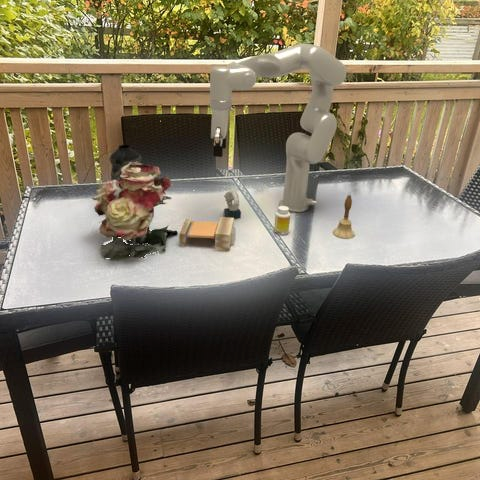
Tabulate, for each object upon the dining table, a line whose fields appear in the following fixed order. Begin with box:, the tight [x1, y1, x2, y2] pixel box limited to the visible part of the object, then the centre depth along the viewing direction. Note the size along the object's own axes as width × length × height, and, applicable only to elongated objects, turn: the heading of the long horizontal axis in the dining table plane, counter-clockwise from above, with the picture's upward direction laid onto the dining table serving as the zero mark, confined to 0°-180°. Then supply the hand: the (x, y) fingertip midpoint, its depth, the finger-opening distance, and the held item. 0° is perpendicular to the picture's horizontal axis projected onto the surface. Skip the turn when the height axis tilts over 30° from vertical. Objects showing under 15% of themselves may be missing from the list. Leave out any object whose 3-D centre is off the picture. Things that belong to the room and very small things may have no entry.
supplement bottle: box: [273, 205, 291, 236], centre depth 171 cm, size 6×6×10 cm
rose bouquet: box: [91, 161, 179, 261], centre depth 153 cm, size 26×29×30 cm
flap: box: [186, 220, 219, 239], centre depth 164 cm, size 10×11×1 cm
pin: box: [211, 227, 237, 246], centre depth 164 cm, size 8×4×5 cm, turn 85°
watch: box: [223, 190, 242, 220], centre depth 181 cm, size 6×8×11 cm
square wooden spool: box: [178, 216, 235, 252], centre depth 164 cm, size 18×14×6 cm
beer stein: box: [108, 144, 142, 189], centre depth 183 cm, size 16×19×25 cm
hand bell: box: [332, 194, 355, 240], centre depth 171 cm, size 8×8×16 cm
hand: (219, 152), depth 166 cm, fingers open, 9 cm apart
